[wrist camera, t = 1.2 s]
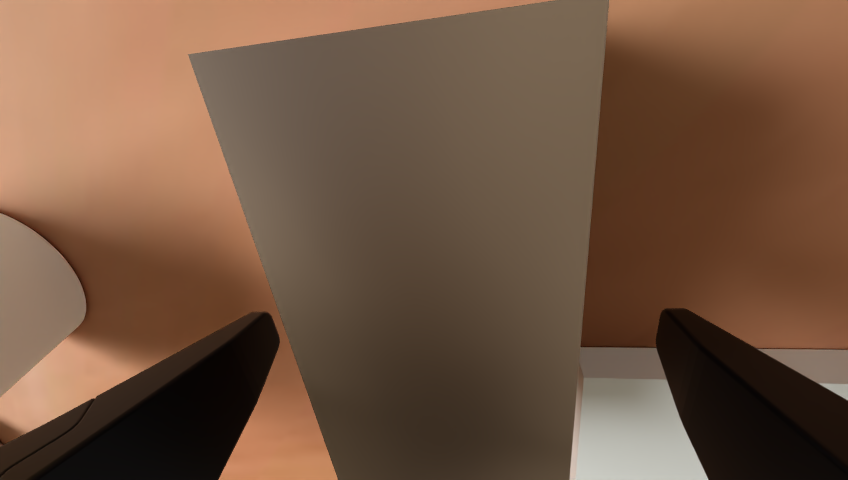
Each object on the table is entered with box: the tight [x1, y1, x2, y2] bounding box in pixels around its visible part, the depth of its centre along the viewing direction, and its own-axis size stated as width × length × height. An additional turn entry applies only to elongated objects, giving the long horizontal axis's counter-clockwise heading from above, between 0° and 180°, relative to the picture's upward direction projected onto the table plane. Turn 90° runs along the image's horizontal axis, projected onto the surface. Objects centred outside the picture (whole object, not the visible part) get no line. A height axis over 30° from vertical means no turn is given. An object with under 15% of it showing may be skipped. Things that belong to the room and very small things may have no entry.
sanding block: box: [188, 0, 609, 480], centre depth 10 cm, size 5×12×7 cm, turn 7°
